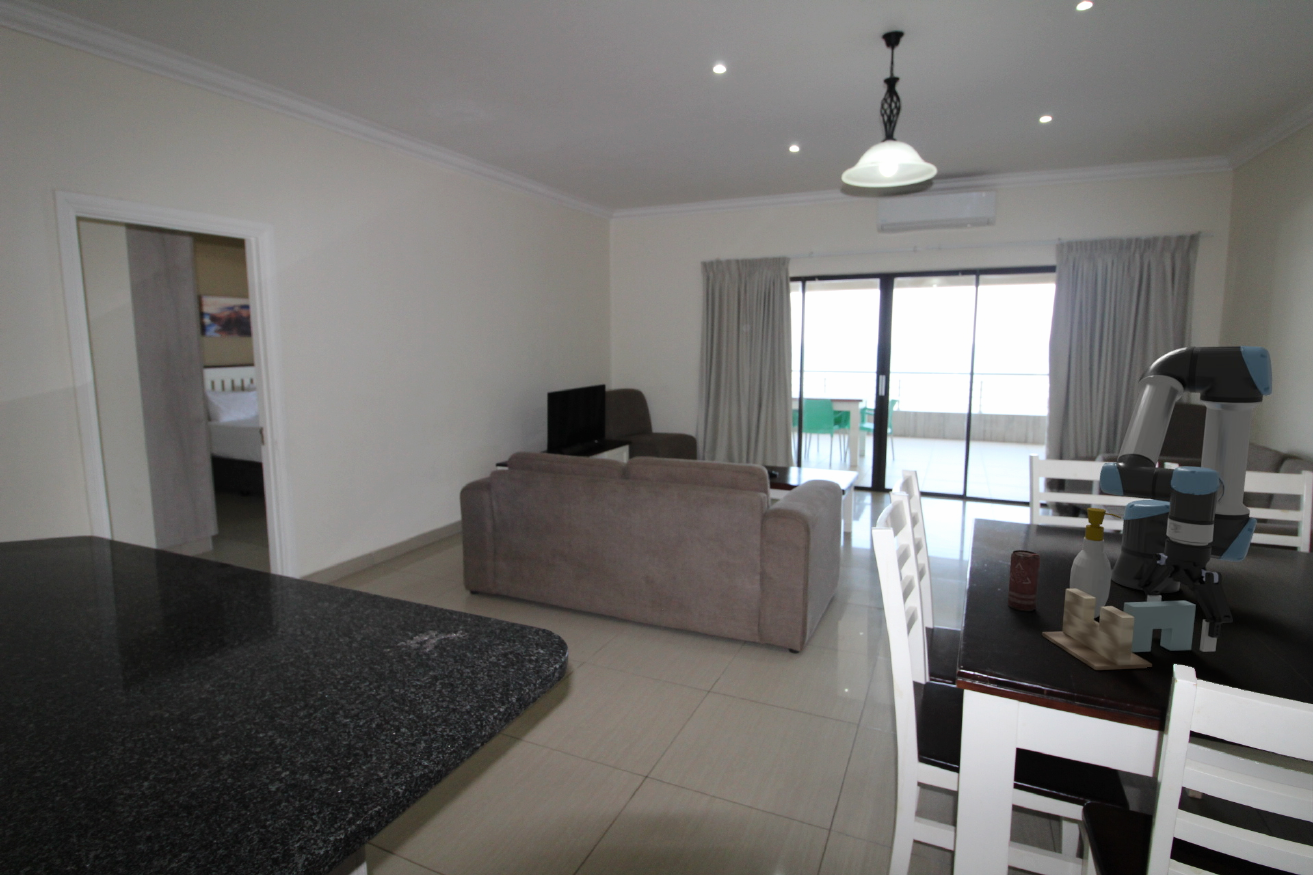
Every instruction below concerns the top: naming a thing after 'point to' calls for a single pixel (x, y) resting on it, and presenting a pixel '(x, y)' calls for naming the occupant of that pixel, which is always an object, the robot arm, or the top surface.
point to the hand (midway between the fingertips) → (1178, 636)
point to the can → (1023, 580)
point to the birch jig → (1096, 634)
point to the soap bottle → (1093, 562)
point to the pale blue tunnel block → (1162, 624)
